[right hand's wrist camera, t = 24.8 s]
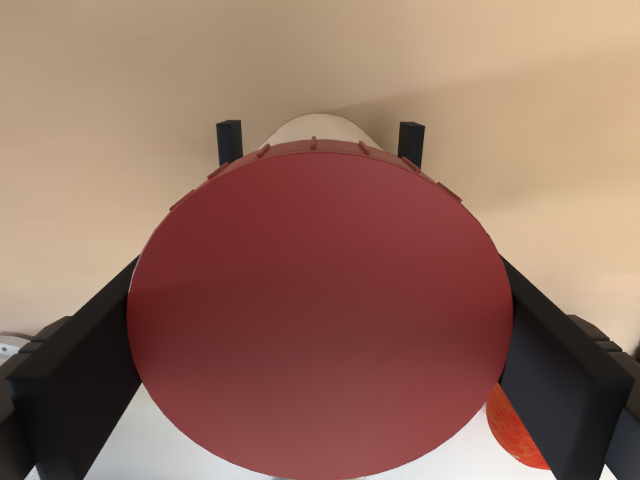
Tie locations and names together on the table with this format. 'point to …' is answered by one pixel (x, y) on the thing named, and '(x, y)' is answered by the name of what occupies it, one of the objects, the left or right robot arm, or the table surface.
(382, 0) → the table surface
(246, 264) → the lid
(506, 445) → the apple
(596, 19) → the table surface
